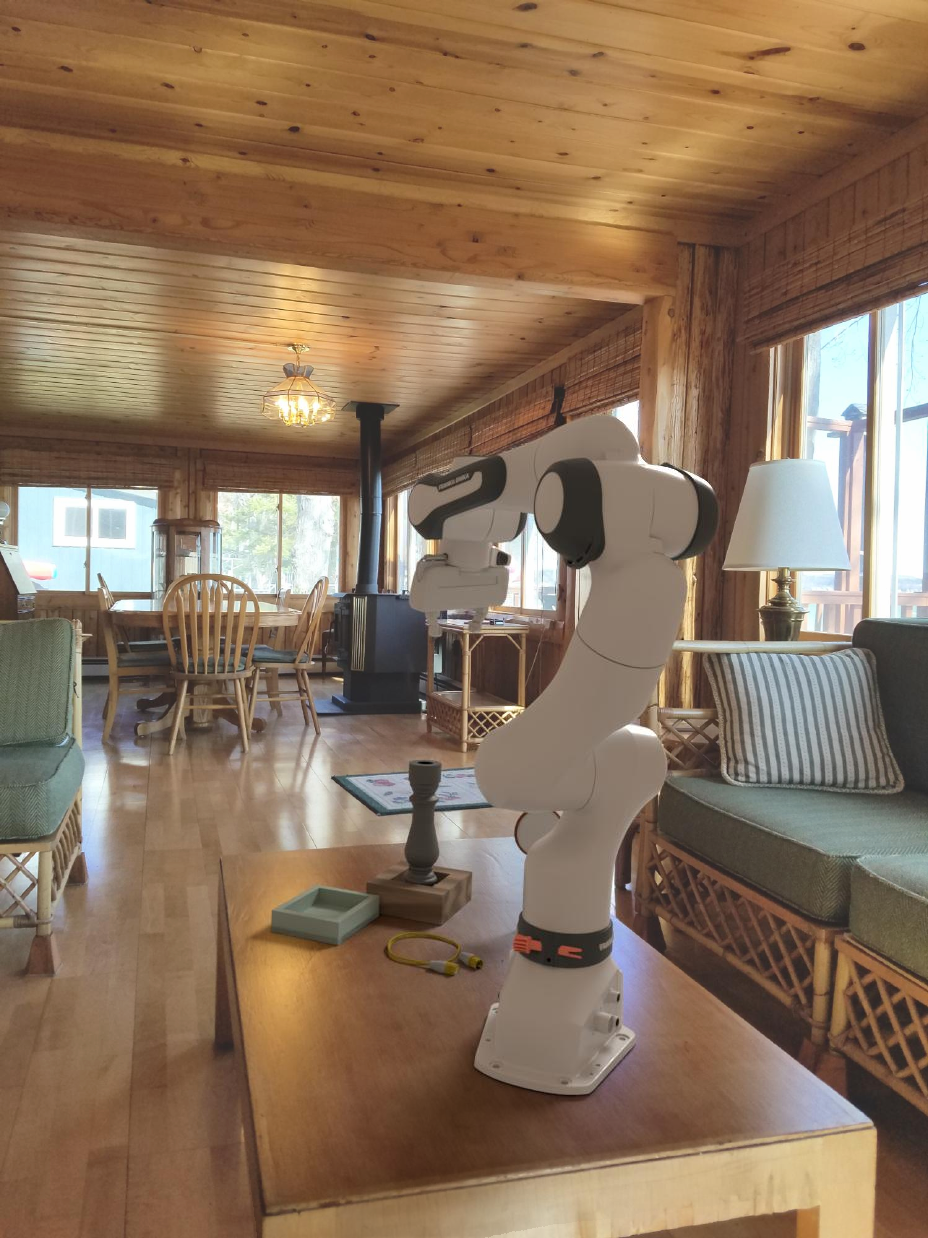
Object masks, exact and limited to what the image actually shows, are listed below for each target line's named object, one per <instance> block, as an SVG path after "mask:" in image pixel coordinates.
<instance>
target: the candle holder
mask: <svg viewBox="0 0 928 1238" xmlns="http://www.w3.org/2000/svg"><path fill="white" fill-rule="evenodd" d="M442 768H443V767H442V762H441V761H437V760H431V759H414V760H410V761H409V762H408V775H407V776H408V778H407V779H408V782H409V786H410V787H411V788H410V789H411V791H412V794H410V795H409V796H408V800H409V802H410V803H411V805H412V807H411V808H412V811H411V812H412V813H411V815H412V817H411V824H410V826H409V827H410V828H409V831H408V835H407V839H406V842H405V846H404V851H403V854H404V857H405V861H407V862H408V863H409V868H410V870H409V872H408V873H407V875H406V876H405V878H404V879H405V882H406V883H412V884H418V885H424V886H430V887H434V886H435V885H437V884H435V883H436V882H437V877H436V875H435V874H434V872H433V871H432V869H433V868H434V866H435V864H436V863H437V861H438V859H439V857H440V847H439V842H438V837H437V831H436V826H435V825H436V824H435V808H436V805H437V804H438V803H439V800H440V797H439V796H438V795H437V794H436V793H437V791H438V789H439V787H440V783H441V782H442Z"/></svg>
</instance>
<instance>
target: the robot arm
mask: <svg viewBox="0 0 928 1238" xmlns="http://www.w3.org/2000/svg"><path fill="white" fill-rule="evenodd" d="M719 506H720V505H719V502H718V498H717V495H716V493H715V491H714V489H713V487H712V486H711V484H709V482H707V481H706V480H705V479H703V478H701V477H699V476H698V475H696V474H694V473H691V472H689V471H686V470H684V469H681V468H679V467H676V466H675V465H672V464H671V463H669V462H665V461H664V462H663V463H661V464H660V465H655V464H649V463H647V462H645V461H644V460H643V459H642V457H641V448H640V443H639V440H638V438H637V435H636V433H635V432H634V430H633V429H632V427H630V425H629V424H628V423H626V422H625V421H624V420H623V419H622V418H619V417H617V416H614V415H611V414H606V413H604V414H603V413H602V414H598V413H597V414H593V415H589V416H583V417H581V418H578V419H574V420H572V421H570V422H567V423H564V424H563V425H560V426H558V427H557V428H555V429H554V430H551V431H550V432H549V433H547V434H544V435H542V436H541V437H539V438H536V439H534V440H532V441H529V442H527V443H526V444H522V445H521V446H518V447H515V448H511V449H510V450H505V451H503V452H501V453H498V454H495V455H492V456H488V455H481V454H480V455H479V454H462V455H459V456H457V457H454V458H453V460H452V462H451V464H450V468H449V471H448V473H446V474H444V475H443V474H440V473H432V472H428V473H427V474H425V475H424V476H422V477H421V478H420V479H419V480H418V481H417V482H416V483H415V484H414V485H413V486H412V489H411V490H410V492H409V497H408V500H407V515H408V520H409V521H408V522H410V525H411V527H413V529H414V530H415V531H416V533H417V534H418V535H420V536H421V538H423V539H424V540H426V541H432V540H433V541H438V549H437V550H438V551H437V553H436V554H432V553H428V554H427V553H426V554H424V555H423V556H422V557H421V558H420V559H419V560H418V561H417V562H416V566H415V571H414V573H413V576H412V581H411V585H410V589H409V596H408V603H409V607H410V608H411V609H413V610H416V611H418V612H422V613H424V616H425V619H426V621H427V624H428V632H427V633H428V634H427V635H428V636H429V637H432V638H437V637H438V638H439V637H442V636H443V629H444V628H443V626H441V625H440V624H439V620H438V618H440V616H441V612H444V611H458V610H467V609H468V610H469V609H470V610H471V609H474V611H475V613H474V615H473V618H472V620H468V627H467V629H468V630H467V631H468V632H469V633H473V634H475V633H480V632H481V631H482V626H483V625H482V623H483V622H484V621H485V619H486V618H487V615H488V614H489V609H490V608H491V607H492V608H493V607H494V608H495V607H501V606H503V604H504V603H505V601H506V600H507V596H508V591H509V581H510V571H509V568H508V566H510V565H511V563H512V554H511V553H509V552H507V551H505V550H503V549H501V548H499V547H497V546H494V545H493V543H495V544H503V543H508V542H509V543H511V542H513V541H514V540H515V539H517V538H518V537H519V536H520V534H522V532H523V531H524V529H525V528H526V525H527V521H528V516H529V515H528V514H530V515H531V514H532V515H533V519H534V524H535V527H536V529H537V531H538V532H539V534H540V535H541V537H542V538H543V540H544V541H545V543H546V544H547V545H548V547H549V548H550V549H551V550H552V551H554V552H556V553H557V554H558V555H560V556H562V558H563V561H564V563H565V565H566V566H567V567H568V568H570V569H571V570H581V569H583V568H585V567H586V566H587V565H588V567H589V568H588V569H589V571H590V576H591V577H590V578H591V579H590V580H591V584H590V588H589V589H590V590H589V592H588V593H589V594H588V596H587V598H586V601H585V604H584V606H583V609H582V611H581V612H580V616H579V619H578V621H577V623H576V626H575V629H574V632H573V634H572V637H571V640H570V642H569V644H568V647H567V649H566V651H565V653H564V654H565V655H564V656H563V659H562V660H561V663H560V665H559V668H558V670H557V672H556V674H555V675H554V677H553V678H552V680H551V681H550V683H549V684H548V685H547V687H546V688H545V689H544V690H543V691H542V693H540V695H539V696H538V697H537V698H536V699H535V700H534V701H533V702H532V703H530V705H529V706H527V708H525V709H524V710H523V711H522V712H520V713H519V714H518V715H517V716H515V717H514V718H512V719H511V720H509V721H507V722H506V723H504V724H502V725H500V726H498V727H495V728H494V729H492V730H490V731H488V733H486V735H485V736H484V737H483V738H482V740H481V741H480V743H479V745H478V748H477V750H476V752H475V757H474V764H473V765H474V766H473V769H474V771H473V772H474V777H475V782H476V784H477V788H478V789H479V791H480V793H481V795H482V796H483V797H484V799H485V800H486V801H487V802H488V803H489V805H490V806H492V807H494V808H496V809H502V810H507V811H513V812H521V813H524V812H526V813H537V812H552V811H556V812H562V813H561V815H560V819H559V821H558V822H557V824H556V825H555V827H554V828H553V829H552V830H551V831H550V832H549V833H548V834H547V835H545V836H544V837H542V838H541V839H539V840H538V841H537V842H535V843H534V844H533V845H532V847H531V848H530V849H529V851H528V853H527V855H525V858H524V861H523V862H524V863H523V864H524V865H523V885H522V888H523V889H522V907H521V908H522V910H521V911H520V912H519V914H518V915H519V916H518V921H517V924H516V930H515V936H514V939H513V943H512V949H511V950H509V958H508V959H509V962H508V963H507V964H508V966H507V969H506V971H505V972H506V974H505V977H504V981H503V985H502V988H501V989H500V990H499V991H498V995H497V998H498V1002H494V1003H493V1004H491V1006H490V1007H489V1011H488V1014H487V1018H486V1021H485V1024H484V1027H483V1030H482V1034H481V1036H480V1041H479V1043H478V1046H477V1049H476V1052H475V1057H474V1062H473V1063H474V1064H473V1066H474V1068H476V1069H477V1070H478V1071H480V1072H481V1073H483V1074H484V1075H487V1076H488V1077H491V1078H493V1079H495V1080H498V1081H501V1082H503V1083H507V1084H510V1085H513V1086H516V1087H520V1088H524V1089H529V1090H533V1091H538V1092H542V1093H543V1092H544V1093H549V1094H556V1095H569V1096H570V1095H572V1096H573V1095H575V1096H579V1095H580V1096H581V1095H588V1094H591V1093H592V1092H593V1091H594V1090H595V1089H596V1088H597V1087H598V1086H599V1085H600V1084H601V1082H602V1081H603V1080H604V1079H605V1078H606V1077H607V1076H608V1075H609V1074H610V1073H611V1071H612V1070H613V1069H614V1068H615V1067H616V1066H617V1065H618V1064H619V1063H620V1061H621V1060H622V1059H623V1058H624V1057H625V1056H627V1054H629V1052H630V1050H631V1049H633V1047H634V1046H635V1045H636V1043H637V1041H636V1033H635V1032H634V1031H633V1030H632V1029H630V1028H628V1027H626V1026H625V1025H624V973H623V971H622V970H621V969H620V967H619V966H618V965H617V964H616V962H615V960H614V959H613V956H612V955H611V954H612V952H613V944H614V943H613V942H614V923H613V920H612V919H611V902H612V893H613V892H612V891H613V881H614V872H615V864H616V860H617V856H618V853H619V849H620V847H621V844H622V843H623V840H624V838H625V835H626V834H627V831H629V830H628V829H629V828H630V826H631V824H632V823H633V820H634V819H635V818H636V816H637V815H638V814H639V812H640V811H642V809H643V808H644V807H645V806H646V805H647V803H649V802H650V801H651V800H653V799H654V798H655V797H656V796H657V795H659V793H660V792H661V790H662V788H663V786H664V784H665V781H666V778H667V773H668V759H667V758H668V757H667V754H666V749H665V747H664V745H663V743H662V741H661V740H660V738H659V736H658V735H657V734H656V733H655V732H654V731H653V730H652V729H650V728H648V727H646V726H641V725H638V724H633V722H635V721H636V720H637V719H638V718H639V717H641V716H642V715H643V713H644V712H645V710H647V708H648V706H649V703H650V701H651V698H652V697H653V694H654V691H655V690H656V687H657V685H658V683H659V681H660V678H661V676H662V673H663V671H664V669H665V666H666V664H667V662H668V659H669V657H670V655H671V652H672V650H673V647H674V645H675V642H676V639H677V636H678V634H679V630H680V627H681V623H682V619H683V614H684V610H685V606H686V601H687V595H688V590H689V589H688V580H687V578H686V575H685V573H684V571H683V570H682V568H681V567H680V566H679V564H677V562H675V561H683V560H687V559H691V558H694V557H698V556H699V555H701V554H702V553H704V552H705V551H706V550H707V549H708V547H710V545H711V543H712V541H713V540H714V537H715V534H716V532H717V530H718V526H719V521H720V507H719Z"/></svg>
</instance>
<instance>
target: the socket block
mask: <svg viewBox="0 0 928 1238" xmlns="http://www.w3.org/2000/svg"><path fill="white" fill-rule="evenodd" d="M409 870H410V868H409V863H408V862H407V860H399V861H398V862H397V863H395V864H394V865H392V866H390V867H388V868H387V869H386V870H384V871H382V872H380V873H379V874H377V875H375V877H373V878H371V879H370V880H368V881H366V887H365V888H366V890H365V893H368V894H374V895H379V915H384V916H389V917H394V918H398V919H399V918H400V919H406V920H411V921H417V922H422V923H428V924H433V925H438V926H443V925H444V924H445V923H446V922H447V921H448V920H450V919H451V918H452V917H453V916H454V915H455V914H457V912H459V910H461V909H462V908H463V907H465V906H466V905H467V904H468V903H469V902H471V900H472V893H473V892H472V891H473V871H470V870H469V871H468V870H464V869H463V870H462V869H457V868H452V867H443V866H437V865H434V868H433V869H432V871H433V872H434V874H435V875H436V877H437V882H436V883H435V884H437V885H435V886H434V887H430V886H424V885H418V884H412V883H406V882H405V879H404V878H405V876H406V875H407V873H408V872H409Z"/></svg>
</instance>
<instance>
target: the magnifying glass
mask: <svg viewBox="0 0 928 1238" xmlns="http://www.w3.org/2000/svg"><path fill="white" fill-rule="evenodd" d="M560 817H561V815H560V814H559V813H558V811H552V812H537V813H526V812H522V813H521V815H519V817H518V819H517V820H516V822H515V826H514V828H513V829H514V831H513V837H514V841H515V844H516V846H517V848H518V849H519V851H521V852H522V853H523V854H525V856H527V853H528V851H529V849H530V848H531V847H532V845H533V844H534V843H535V842H537V841H538V840H539V839H541V838H542V837H544V836H545V835H547V834H548V833H549V832H550V831H551V830H552V829H553V828H554V827H555V825H556V824H557V822H558V821H559V819H560Z"/></svg>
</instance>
